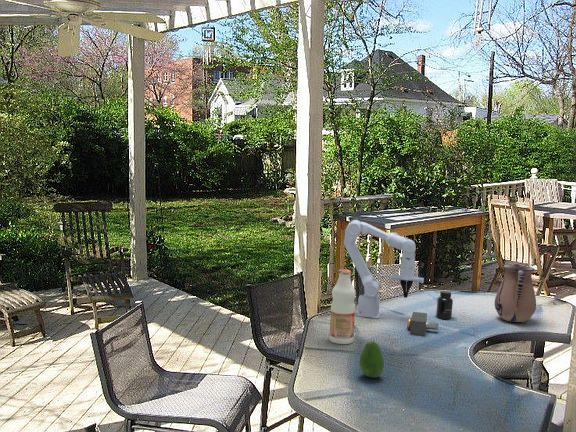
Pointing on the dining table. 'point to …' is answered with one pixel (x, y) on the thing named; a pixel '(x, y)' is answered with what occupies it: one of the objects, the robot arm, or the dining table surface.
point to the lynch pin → (428, 325)
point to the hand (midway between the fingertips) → (405, 297)
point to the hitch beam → (418, 323)
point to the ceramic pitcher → (516, 294)
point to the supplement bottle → (444, 306)
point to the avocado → (371, 360)
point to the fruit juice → (342, 310)
